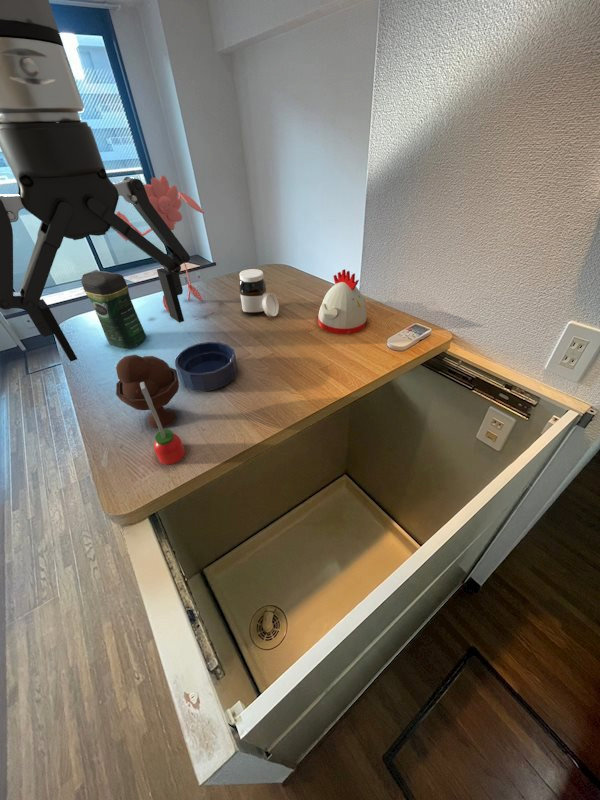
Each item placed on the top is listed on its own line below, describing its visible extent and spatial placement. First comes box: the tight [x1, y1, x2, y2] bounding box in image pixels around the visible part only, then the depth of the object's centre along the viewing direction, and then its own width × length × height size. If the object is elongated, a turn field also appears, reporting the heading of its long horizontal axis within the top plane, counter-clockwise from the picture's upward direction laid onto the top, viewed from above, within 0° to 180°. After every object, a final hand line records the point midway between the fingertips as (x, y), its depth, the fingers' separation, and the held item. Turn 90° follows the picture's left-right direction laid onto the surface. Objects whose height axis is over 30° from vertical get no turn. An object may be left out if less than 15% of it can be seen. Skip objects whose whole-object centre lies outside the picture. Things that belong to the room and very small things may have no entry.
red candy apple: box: [140, 382, 186, 465], centre depth 54 cm, size 5×5×16 cm
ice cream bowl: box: [115, 354, 180, 429], centre depth 61 cm, size 11×11×15 cm
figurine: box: [115, 174, 218, 321], centre depth 91 cm, size 15×26×35 cm, turn 147°
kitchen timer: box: [317, 268, 368, 335], centre depth 90 cm, size 14×14×15 cm
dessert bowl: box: [174, 341, 239, 392], centre depth 75 cm, size 13×13×5 cm
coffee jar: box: [80, 269, 147, 349], centre depth 83 cm, size 10×8×19 cm
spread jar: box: [238, 268, 280, 318], centre depth 97 cm, size 12×11×12 cm
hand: (128, 336), depth 42 cm, fingers open, 13 cm apart
